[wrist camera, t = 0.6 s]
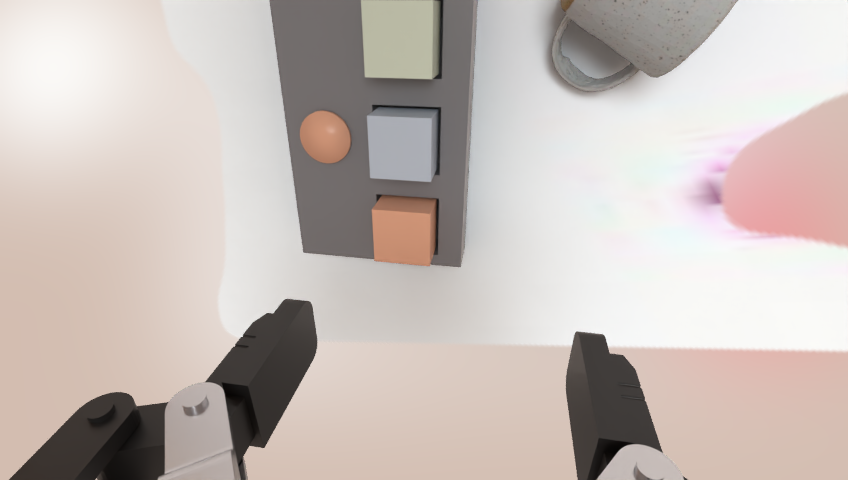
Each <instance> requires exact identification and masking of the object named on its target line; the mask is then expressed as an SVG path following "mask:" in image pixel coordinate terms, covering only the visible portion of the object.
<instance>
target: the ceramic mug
mask: <svg viewBox="0 0 848 480" xmlns="http://www.w3.org/2000/svg"><path fill="white" fill-rule="evenodd" d="M737 1H738V0H561V7H562V9H563V10H564V11H565V12H566V15H565V17H564V18H563V20H562V22H561V24H560V26H559V28H558V30H557V32H556V35H555V37H554V41H553V45H552V58H553V63H554V66H555V69H556V70H557V72H558V73H559V75H560V76H561V77H562V78H563V79H564V80H565V81H566V82H567V83H569V84H570V85H572V86H573V87H575V88H577V89H579V90H582V91H587V92H595V91H602V90H606V89H609V88H612V87H614V86H616V85H618V84H620V83H622V82H624V81H625V80H627V79H628V78H630V77H631V76H632V75H634V74H635V73H636V72H637V71H638V70H642V71H643V72H645V73H646V74H647V75H649V76H651V77H656V78H658V77H660V76H663V75H665V74H666V73H668V72H670V71H671V70H673V69H674V68H676V67H677V66H678V65H680V64H681V63H682V62H683V61H684V60H686V59H687V58H688V56H689V55H690V54H692V53H693V52H694V51H695V50H696V49H697V48H698V47H699V46H700V45H701V44H702V43H703V42H704V41H705V40H706V39H707V38H708V37H709V36H710V34H711V33H712V32H713V31H714V30H715V29H716V28H717V27H718V25H719V24H720V23H721V22H722V21H723V20H724V18H725V17H726V16H727V14H728V13H729V12H730V10H731V9H732V7H733V6H734V5H735V3H736V2H737ZM571 20H573V21H574V22H575V23H576V24H577V25H579V26H580V27H581V28H582V29H584V30H585V31H587V32H589V33H590V34H592V35H593V36H595V37H597V38H598V39H599V40H601V41H602V42H604V43H605V44H606V45H608V46H609V47H610V48H612V49H613V50H614V51H616V52H617V53H618V54H619V55H621V56H622V57H624V58H625V59H627V60H628V61H630V62H631V64H630V65H629V66H627V67H626V68H625V69H623V70H622V71H620V72H618V73H616V74H614V75H612V76H610V77H606V78H603V79H593V78H592V77H588V76H586V75H585V74H583V73H582V72H581V71H580V70H578V69H577V68H576V67H575V66H574V65H573V64H572V63H571V62H570V59H569V58H567V57H564V56H563V55H562V52H561V38H562V35H563V32H564V30H565V28H566V27H567V25H568V23H569V22H570V21H571Z"/></svg>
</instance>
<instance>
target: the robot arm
mask: <svg viewBox="0 0 848 480" xmlns="http://www.w3.org/2000/svg"><path fill="white" fill-rule="evenodd" d="M316 349H317V335H316V328H315V322H314V315H313V308H312V304H311V302H309V301H302V300H293V299H285V300H284V301H283V302H282V303H281V304H280V306H279V307H278V308H277V310H276V311H275V312H274V314H271V313H267V314H265V315H264V316H262V317H261V318H259V319H258V320H256V321H255V322H253V323H252V324H251V326H250V327H249V328H248V329H247V331H246V332H245V333H244V334H243V337H241V338H240V339H239V341H238V342H237V343H236V344H235V347H233V348H232V349H231V351H230V352H229V353H228V354H227V356H226V357H225V358H224V359H223V360H222V362H221V363H220V364H219V365H218V367H217V368H216V369H215V370H214V372H213V373H212V374H211V375H210V377H209V378H208V379H207V381H206V382H204V383H198V384H194V385H191V386H189V387H187V388H185V389H183V390H181V391H180V392H178V393H177V394H176V395H175V396H174V397H173V398H172V399H171V400H170V401H169V402H167V403H160V404H152V405H145V406H136V404H135V402H134V399H133V398H132V396H130V395H129V394H127V393H122V392H115V393H109V394H105V395H102V396H100V397H97V398H95V399H93V400H91V401H89V402H88V403H86V404H85V405H83V406H82V407H81V408H79V409H78V410H77V411H76V412H75V413H74V414H73V415H72V416H71V417H70V418H69V419H68V420H67V421H66V422H65V423H64V425H62V426H61V428H60V429H58V431H57V432H56V433H55V434H54V435H53V436H52V437H51V438H50V439H49V440H48V441H47V442H46V443H45V444H44V445H43V446H42V447H41V448H40V449H39V450H38V451H37V452H36V453H35V454H34V455H33V456H32V457H31V458H30V459H29V460H28V461H27V462H26V463H25V464H24V465H23V466H22V467H21V468H20V469H19V470H18V471H17V472H16V473H15V474H14V475H13V476H12V477H11V478H10V479H9V480H95V479H96V478H97V479H98V480H248V477H247V472H246V466H245V461H244V457H243V456H244V454H245V452H246V451H247V449H248V447H249V446H255V447H261V448H264V447H265V446H266V444H267V442H268V440H269V438H270V436H271V435H272V433H273V431H274V429H275V428H276V426H277V424H278V422H279V420H280V419H281V417H282V415H283V413H284V411H285V410H286V408H287V406H288V404H289V402H290V401H291V399H292V397H293V395H294V393H295V391H296V390H297V388H298V386H299V384H300V382H301V381H302V379H303V377H304V375H305V373H306V372H307V370H308V368H309V366H310V364H311V363H312V361H313V359H314V356H315V353H316ZM566 394H567V402H568V410H569V417H570V425H571V432H572V440H573V447H574V454H575V462H576V470H577V477H578V480H687V479H686V478H685V477H683V476H682V474H681V472H680V470H679V468H678V467H677V466H676V464H675V463H674V462H673V461H672V460H671V459H670V458H668V457H667V456H666V455H664V454H663V452H662V449H661V446H660V443H659V440H658V437H657V434H656V431H655V428H654V425H653V422H652V419H651V416H650V413H649V410H648V407H647V404H646V402H645V397H644V394H643V391H642V389H641V388H640V382H639V379H638V376H637V373H636V370H635V369H634V368H633V366H632V365H631V364H630V363H629V362H628V360H627V359H626V358H625V357H624V356H623V355H616V354H610V353H609V350H608V346H607V342H606V339H605V336H604V335H603V334H594V333H585V332H576V333H575V335H574V340H573V345H572V350H571V354H570V359H569V364H568V369H567V375H566Z"/></svg>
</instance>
